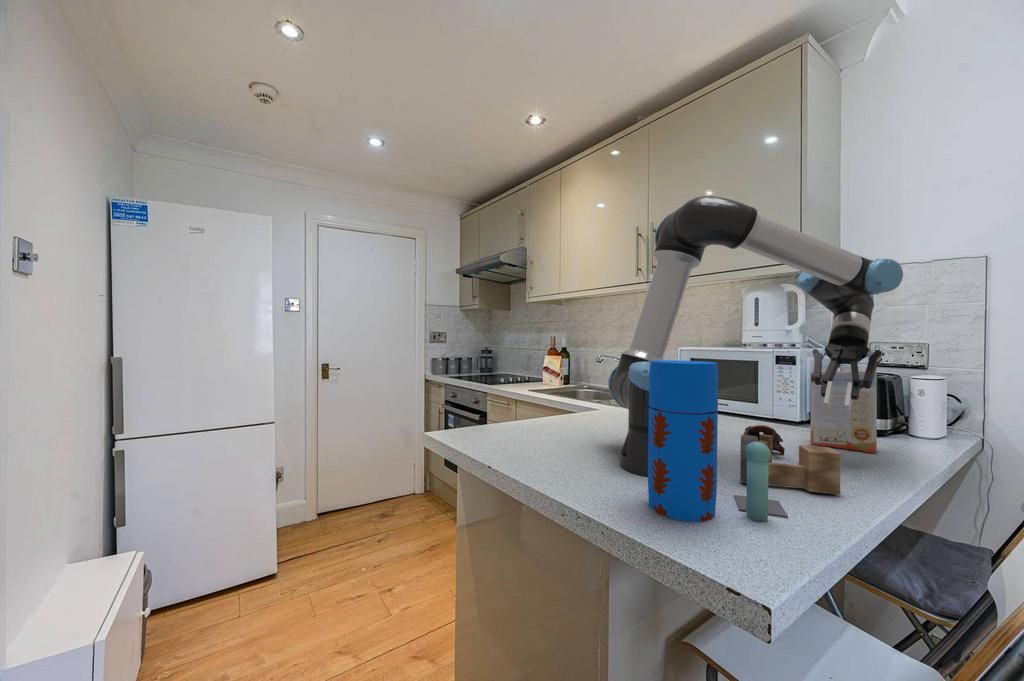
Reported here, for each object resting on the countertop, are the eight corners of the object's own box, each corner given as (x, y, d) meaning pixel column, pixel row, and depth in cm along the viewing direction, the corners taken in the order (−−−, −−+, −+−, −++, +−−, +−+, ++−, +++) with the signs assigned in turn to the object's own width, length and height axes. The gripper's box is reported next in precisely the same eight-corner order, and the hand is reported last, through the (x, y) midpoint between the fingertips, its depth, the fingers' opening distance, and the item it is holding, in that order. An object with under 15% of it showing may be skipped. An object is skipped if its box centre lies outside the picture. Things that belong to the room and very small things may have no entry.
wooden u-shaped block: (743, 485, 81) (744, 439, 80) (737, 476, 85) (737, 433, 85) (840, 494, 76) (840, 445, 76) (827, 485, 81) (828, 439, 81)
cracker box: (876, 450, 110) (877, 372, 110) (876, 454, 106) (877, 373, 106) (812, 441, 120) (813, 369, 120) (809, 444, 115) (810, 370, 115)
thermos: (685, 527, 63) (687, 364, 63) (634, 502, 72) (636, 360, 72) (730, 514, 68) (732, 363, 68) (677, 492, 77) (679, 360, 77)
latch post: (741, 517, 67) (742, 441, 67) (748, 510, 69) (749, 438, 69) (766, 524, 64) (767, 445, 64) (772, 517, 67) (773, 442, 67)
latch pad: (734, 496, 76) (734, 494, 76) (778, 502, 73) (778, 500, 73) (739, 510, 69) (739, 508, 69) (788, 518, 67) (788, 516, 67)
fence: (747, 480, 85) (747, 441, 85) (761, 469, 92) (762, 434, 92) (758, 482, 84) (758, 443, 83) (772, 471, 90) (772, 435, 90)
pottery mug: (797, 460, 102) (789, 433, 99) (762, 476, 102) (754, 450, 99) (763, 436, 113) (755, 412, 111) (732, 451, 113) (723, 427, 111)
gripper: (893, 345, 99) (886, 423, 88) (812, 344, 111) (796, 413, 99) (892, 322, 95) (884, 401, 84) (808, 324, 107) (791, 393, 95)
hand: (836, 407), depth 92 cm, fingers open, 3 cm apart
